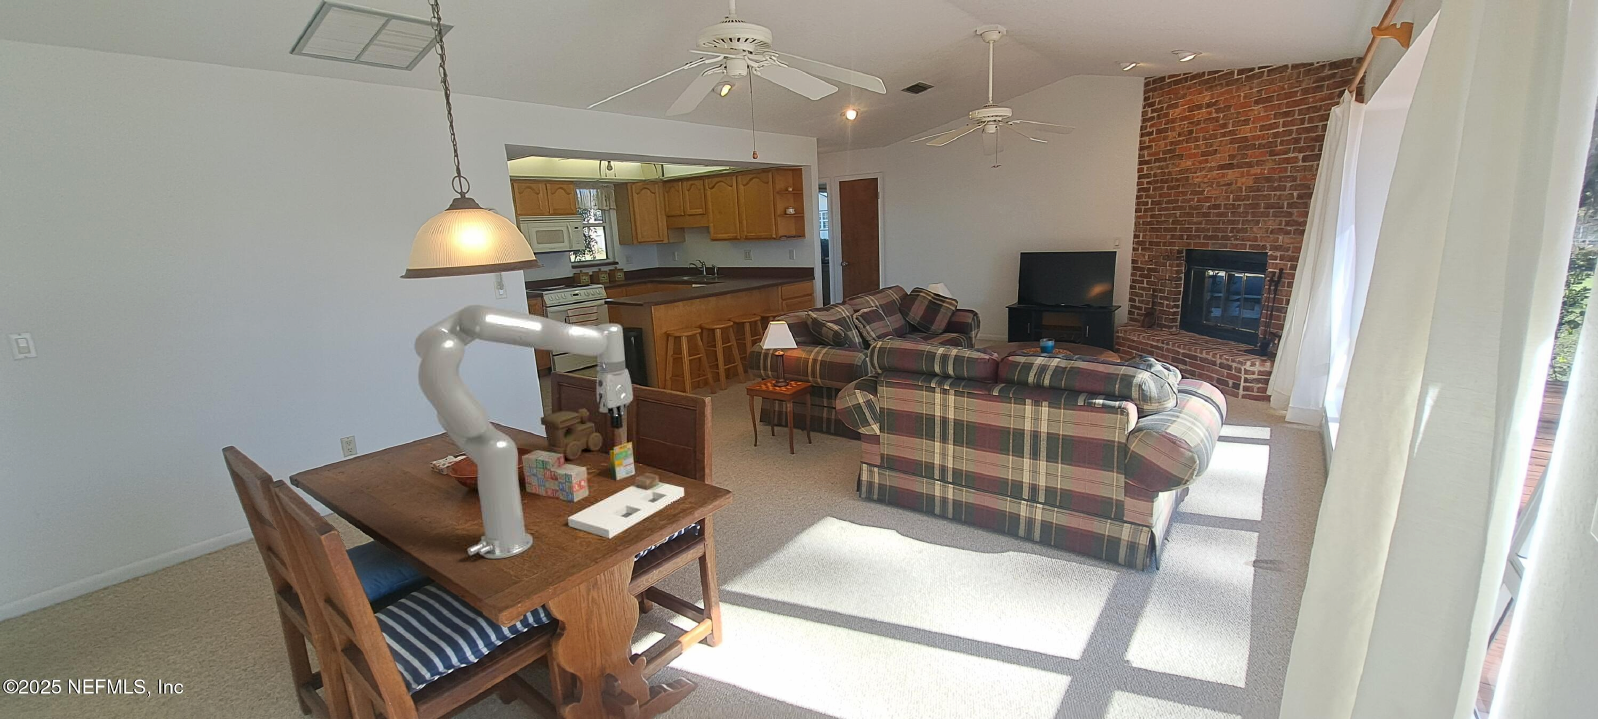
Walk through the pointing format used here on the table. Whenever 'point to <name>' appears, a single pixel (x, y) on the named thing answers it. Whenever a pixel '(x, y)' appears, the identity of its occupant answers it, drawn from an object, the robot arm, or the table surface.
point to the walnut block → (647, 481)
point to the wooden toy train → (570, 433)
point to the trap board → (624, 509)
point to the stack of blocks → (554, 476)
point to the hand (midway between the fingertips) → (616, 427)
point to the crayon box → (622, 461)
